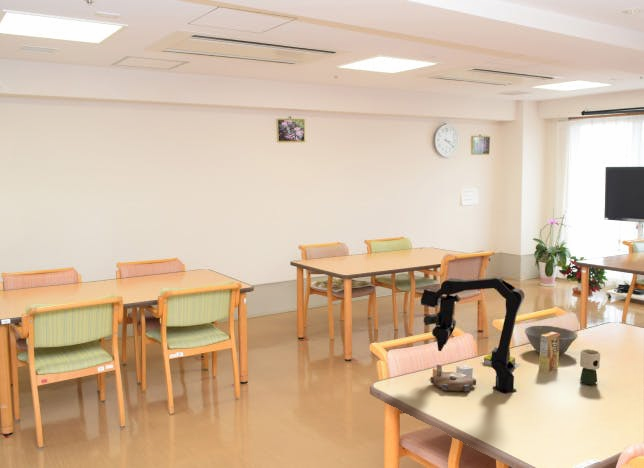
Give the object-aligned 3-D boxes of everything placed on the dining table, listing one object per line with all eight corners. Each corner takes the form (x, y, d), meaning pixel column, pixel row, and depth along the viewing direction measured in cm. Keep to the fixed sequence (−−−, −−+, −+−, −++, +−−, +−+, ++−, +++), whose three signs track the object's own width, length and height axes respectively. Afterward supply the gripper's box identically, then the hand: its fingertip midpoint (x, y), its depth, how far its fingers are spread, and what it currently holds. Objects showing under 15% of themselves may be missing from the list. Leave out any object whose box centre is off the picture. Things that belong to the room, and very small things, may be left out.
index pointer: (441, 377, 246) (441, 369, 245) (436, 378, 245) (436, 370, 244) (437, 375, 248) (437, 367, 248) (432, 376, 247) (432, 368, 247)
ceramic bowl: (513, 349, 286) (514, 328, 285) (549, 343, 296) (550, 323, 295) (548, 363, 266) (550, 341, 265) (586, 356, 276) (588, 335, 275)
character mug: (592, 389, 236) (594, 356, 234) (573, 384, 241) (575, 352, 239) (602, 382, 243) (605, 350, 242) (585, 377, 248) (587, 346, 247)
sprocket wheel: (483, 388, 232) (484, 372, 232) (450, 394, 226) (450, 378, 225) (455, 373, 248) (456, 359, 247) (423, 379, 241) (423, 364, 240)
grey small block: (472, 377, 247) (472, 368, 247) (462, 379, 245) (462, 369, 245) (466, 374, 251) (466, 365, 250) (456, 376, 249) (456, 366, 248)
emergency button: (487, 349, 272) (521, 355, 263) (487, 358, 273) (520, 365, 264) (479, 354, 265) (514, 361, 256) (479, 364, 265) (513, 371, 256)
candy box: (549, 365, 263) (551, 331, 261) (558, 368, 259) (560, 333, 258) (538, 370, 257) (540, 334, 255) (547, 372, 254) (549, 337, 252)
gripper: (431, 301, 253) (427, 337, 255) (421, 311, 236) (416, 350, 238) (458, 306, 249) (453, 342, 251) (450, 317, 232) (445, 356, 234)
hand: (441, 347), depth 244 cm, fingers open, 9 cm apart
